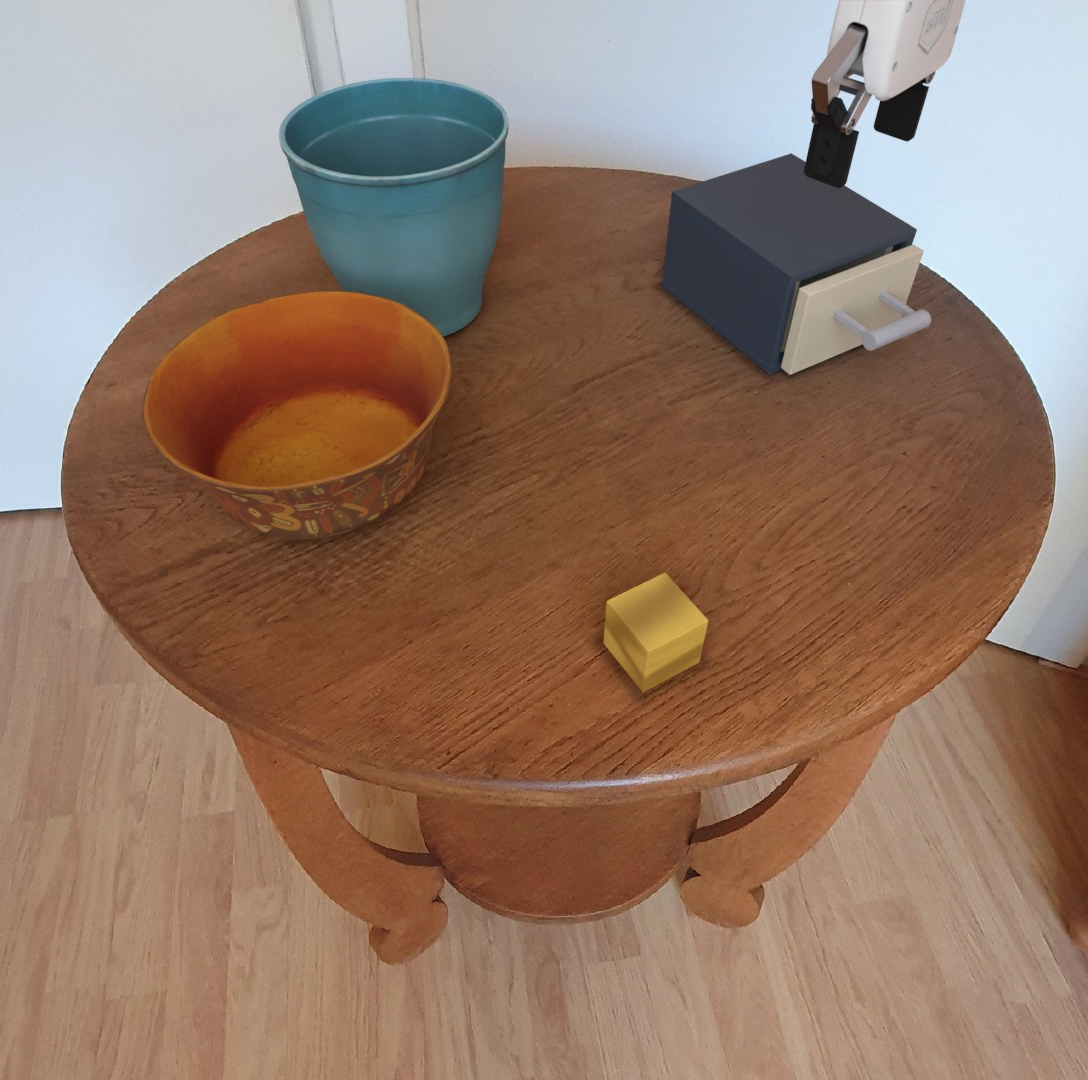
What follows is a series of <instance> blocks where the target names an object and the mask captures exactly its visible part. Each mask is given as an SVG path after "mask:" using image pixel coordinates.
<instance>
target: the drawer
mask: <svg viewBox="0 0 1088 1080" xmlns="http://www.w3.org/2000/svg"><path fill="white" fill-rule="evenodd" d="M892 248H893V246H891V247H889V248H886V249H884V250H881V251H878V252H876V253H873V254H870V255H868V256H865V257H862V258H860V259H857V260H855V261H852V262H849V263H847V264H844V265H841V266H839V267H836V268H834V269H831V270H828V271H826V272H823V273H820V274H818V275H815V276H813V277H810V278H807V279H805V280H802V281H799V282H797V283H796V286H795V291H794V295H793V299H792V304H791V308H790V313H789V317H788V321H787V326H786V330H785V335H784V339H783V343H782V348H781V352H783V351H785V352H784V356H783V361H782V365H781V368H782V371H784V372H785V373H786V374H788V375H789V376H791V375H793V374H796V373H798V372H801V371H802V370H805V369H807V368H810V367H813V366H815V365H817V364H820V363H822V362H824V361H827V360H829V359H831V358H833V357H836V356H838V355H841V354H843V353H845V352H848V351H851V350H852V349H855V348H857V347H861V346H863V347H864V349H865V350H867V351H869V352H870V351H871V352H873V351H875V350H878V349H879V348H883V347H884V346H886V345H889V344H891V343H894V342H896V341H898V340H901V339H903V338H905V337H907V336H909V335H912V334H914V333H917V332H919V331H921V330H922V331H923V330H924V329H927V328H928V327H929V326H930V325H931V324H932V315H931V314H930V312H929V311H927V310H926V309H918V310H917V311H916V310H914V309H913V308H911V307H910V306H909V305H907V303H908V299H909V296H910V293H911V290H912V287H913V284H914V281H915V278H916V276H917V273H918V270H919V267H920V264H921V261H922V257H923V254H924V252H925V251H924V249H922V248H920V247H918V246H917V245H916V244H912V245H910V246H908V247H905V248H903V249H900V250H897V251H895V252H892ZM891 252H892V253H891ZM781 352H780V353H781Z"/></svg>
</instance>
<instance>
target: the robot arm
mask: <svg viewBox="0 0 1088 1080" xmlns="http://www.w3.org/2000/svg"><path fill="white" fill-rule="evenodd" d="M965 4H966V0H838V2H837V7H836V10H835V15H834V18H833V23H832V26H831V31H830V36H829V40H828V46H827V51H826V56H825V58H824V59H823V61H822V62H821V63H820V64H819V66H818V67H817V68H816V70H815V71H814V72H813V75H812V77H811V93H812V94H811V95H812V98H811V100H810V101H811V103H810V109H811V112H812V115H811V118H810V119H811V123H812V124H813V125H812V131H811V134H810V139H809V143H808V144H809V145H808V150H807V154H806V159H805V162H806V163H805V168H804V173H805V175H806V176H807V177H810V178H812V179H815V180H817V181H820V182H822V183H825V184H828V185H830V186H833V187H835V188H841V187H842V186H844V185H845V186H846V184H847V183H848V178H849V174H850V170H851V167H852V163H853V160H854V159H853V158H854V154H855V150H856V147H857V142H858V139H859V136H860V135H859V134H860V131H858V130H856V129H855V127H856V125H857V124H858V122H859V120H860V118H861V116H862V114H863V113H864V111H865V109H866V108H867V105H868V103H869V101H870V99H872V96H874V97H875V100H877V101H879V104H878V107H877V111H876V115H875V119H874V123H873V129H874V131H876V132H878V133H879V134H883V135H886V136H888V137H892V138H894V139H898V140H900V141H903V142H910V141H911V140H913V139H914V138H915V136H916V133H917V130H918V128H919V127H918V126H919V123H920V120H921V116H922V113H923V109H924V106H925V103H926V100H927V96H928V93H929V90H930V86H929V85H930V84H931V83H932V82H933V79H934V78H935V75H936V71H937V70H939V69H941V68H942V67H943V66H944V65H945V64H946V63H947V61H948V60H949V58H950V57H951V54H952V51H953V48H954V45H955V41H956V39H957V38H956V37H957V35H958V32H959V26H960V23H961V20H962V19H961V18H962V16H963V11H964V8H965ZM853 75H855V76H859V77H862V78H863V81H860V80H857V79H854V78H851V77H852V76H853ZM841 92H844V93H847V94H849V95H853V96H854V98H853V99H852V101H851V103H850V105H849V107H848V109H847V107H846V105H845V102H844V99H842V98H841V97H839V94H840V93H841Z"/></svg>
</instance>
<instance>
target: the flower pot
mask: <svg viewBox="0 0 1088 1080" xmlns="http://www.w3.org/2000/svg"><path fill="white" fill-rule="evenodd" d="M508 134H509V117H508V114H507V112H506V110H505V109H504V107H503V106H502V104H500V102H498V101H497V100H496V99H495V98H493V97H492V96H491V95H488V94H486V93H485V92H484V91H481V90H479V89H476V88H473V87H471V86H467V85H464V84H461V83H458V82H453V81H447V80H443V79H442V80H441V79H434V78H423V77H389V78H387V77H386V78H377V79H369V80H363V81H357V82H353V83H348V84H345V85H341V86H338V87H337V86H336V87H334V88H331V89H329V90H325V91H323V92H319V93H318V94H316V95H313V96H312V97H309V98H308V99H306V100H304V101H302V102H301V103H299V104H298V105H297V106H295V107H294V108H293V109H292V110H291V111H289V112H288V114H287V115H286V116H285V117H284V119H283V120H282V122H281V123H280V125H279V129H278V141H279V145H280V148H281V151H282V153H283V154H284V156H285V157H286V160H287V164H288V166H289V170H290V173H291V177H292V179H293V182H294V184H295V186H296V189H297V194H298V196H299V200H300V204H301V207H302V210H303V213H304V217H305V220H306V223H307V226H308V228H309V232H310V234H311V237H312V239H313V241H314V244H315V245H316V247H317V249H318V252H319V254H320V255H321V257H322V259H323V261H324V262H325V264H326V266H327V267H328V269H329V271H330V272H331V274H332V275H333V276H334V279H335V280H336V281H337V283H338V285H339V286H340V288H341V291H351V292H360V293H365V294H370V295H375V296H379V297H383V298H386V299H389V300H392V301H395V302H398V303H401V304H403V305H405V306H407V307H408V308H410V309H412V310H413V311H415V312H417V313H418V314H420V315H421V316H423V317H424V318H425V319H427V320H428V321H429V322H431V323H432V324H433V325H434V326H435V327H436V328H437V329H438V330H439V331H440V333H441V334H442V336H443V338H444V337H446V336H449V335H451V334H454V333H456V332H458V331H461V329H463V328H465V327H467V326H468V325H469V324H470V323H471V322H473V320H475V318H476V317H477V315H478V314H479V313H480V310H481V309H482V305H483V287H484V283H485V279H486V276H487V273H488V270H489V266H490V262H491V260H492V256H493V254H494V252H495V249H496V244H497V241H498V236H499V232H500V228H501V221H502V213H503V212H502V211H503V201H504V199H503V198H504V176H505V175H504V174H505V173H504V171H505V162H506V144H507V143H506V142H507V140H506V139H507V138H508Z"/></svg>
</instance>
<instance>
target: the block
mask: <svg viewBox="0 0 1088 1080" xmlns="http://www.w3.org/2000/svg"><path fill="white" fill-rule="evenodd" d="M604 618H605V619H604V628H603V642H602V644H603V645H604V646H605V647H606V648H607V650H608V651H609V652H610V654H611V656H612V657H614V658H615V660H616V661H617V662H618V664H619V665H620V666H621V668H622V669H623V671H625V673H626V674H627V675H628V676H629V678H630V679H631V680H632V682H633V683H634V685H636V687H637V689H639V690H640V692H641V693H642V694H643V693H645V692H648V691H649V690H651V689H653V688H655V687H656V686H659V685H660V684H662V683H664V682H666V681H668V680H669V679H672V678H674V677H675V676H677V675H679V674H681V673H682V672H684V671H686V670H688V669H690V668H692V667H693V666H695V665H697V664H699V663H700V661H701V657H702V652H703V648H704V643H705V640H706V633H707V630H708V624H709V619H708V618H707V617H706V616H705V615H704V614H703V612H701V610H700V609H699V608H698V607H697V606H696V605H695V604H694V602H692V600H691V599H690V598H689V597H688V596H687V595H686V594H685V592H684V591H683V590H682V589H681V588H680V587H679V586H678V585H677V583H676V582H675V581H674V580H673V578H671V577H670V576H669V575H668V574H667V573H666V572H663V573H661V574H659V575H656V576H655V577H653V578H651V579H648V580H646V581H645V582H642V583H640V584H638V585H636V586H634V587H632V588H630V589H628V590H626V591H624V592H622V593H620V594H618V595H616V596H614V597H612V598H609V599H608V600H606V604H605V617H604Z"/></svg>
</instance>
